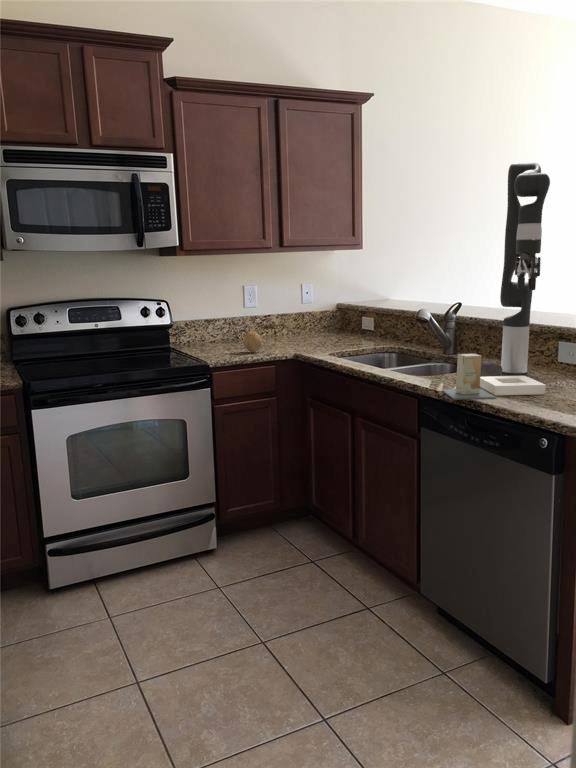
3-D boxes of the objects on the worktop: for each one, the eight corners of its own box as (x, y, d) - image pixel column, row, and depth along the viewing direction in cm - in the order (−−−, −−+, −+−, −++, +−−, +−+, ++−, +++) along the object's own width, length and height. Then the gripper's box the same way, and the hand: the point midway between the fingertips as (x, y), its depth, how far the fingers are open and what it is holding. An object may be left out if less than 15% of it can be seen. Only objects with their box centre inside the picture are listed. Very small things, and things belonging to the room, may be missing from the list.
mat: (441, 391, 211) (441, 389, 211) (480, 390, 212) (481, 388, 212) (453, 399, 199) (453, 398, 199) (495, 398, 199) (495, 396, 199)
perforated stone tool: (497, 378, 233) (498, 358, 231) (507, 380, 228) (508, 360, 227) (462, 381, 227) (463, 361, 226) (471, 384, 222) (472, 364, 221)
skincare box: (463, 395, 202) (464, 356, 200) (455, 392, 206) (456, 354, 204) (480, 393, 205) (482, 354, 202) (472, 390, 209) (473, 353, 206)
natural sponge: (238, 352, 302) (238, 331, 301) (253, 350, 308) (253, 329, 306) (250, 354, 296) (250, 332, 294) (265, 352, 301) (265, 331, 300)
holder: (477, 385, 219) (478, 376, 219) (524, 384, 220) (524, 375, 220) (494, 395, 204) (495, 385, 203) (545, 394, 205) (545, 384, 204)
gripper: (508, 239, 216) (506, 288, 219) (526, 238, 202) (523, 290, 205) (531, 238, 216) (528, 288, 219) (550, 237, 202) (546, 290, 205)
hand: (526, 289), depth 212 cm, fingers open, 8 cm apart
